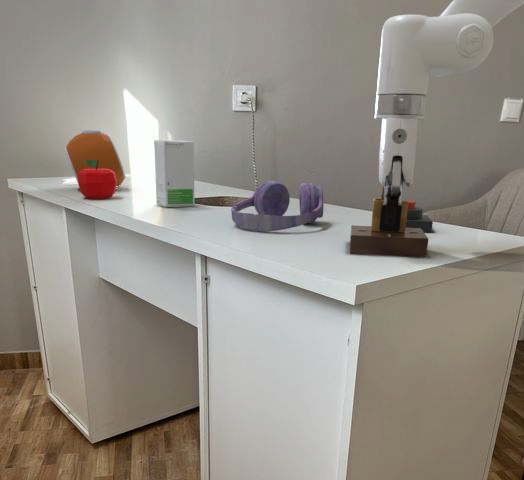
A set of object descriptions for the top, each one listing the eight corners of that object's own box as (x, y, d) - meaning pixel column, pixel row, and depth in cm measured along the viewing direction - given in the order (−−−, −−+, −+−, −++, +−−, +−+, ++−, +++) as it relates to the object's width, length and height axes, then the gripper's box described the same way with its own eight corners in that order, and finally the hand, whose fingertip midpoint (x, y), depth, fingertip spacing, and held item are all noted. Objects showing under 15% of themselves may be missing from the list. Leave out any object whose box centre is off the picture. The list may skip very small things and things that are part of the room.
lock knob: (404, 231, 93) (407, 198, 91) (405, 232, 91) (408, 199, 89) (370, 229, 93) (373, 197, 91) (371, 231, 92) (374, 198, 90)
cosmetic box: (165, 208, 137) (162, 140, 131) (155, 204, 142) (151, 139, 136) (196, 206, 141) (194, 140, 135) (185, 203, 146) (183, 140, 140)
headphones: (261, 211, 128) (216, 238, 113) (259, 175, 124) (212, 198, 108) (336, 218, 120) (299, 248, 105) (337, 180, 116) (298, 205, 101)
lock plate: (419, 245, 97) (421, 227, 96) (426, 257, 88) (428, 237, 87) (349, 242, 99) (351, 224, 98) (349, 253, 90) (351, 234, 88)
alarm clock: (129, 191, 169) (125, 130, 163) (68, 192, 164) (62, 129, 158) (123, 185, 186) (119, 130, 180) (68, 186, 181) (62, 129, 175)
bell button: (413, 209, 115) (414, 200, 114) (415, 211, 112) (416, 202, 111) (396, 208, 115) (396, 200, 115) (397, 210, 112) (398, 202, 111)
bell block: (425, 225, 118) (428, 206, 117) (431, 232, 110) (434, 212, 109) (378, 223, 120) (379, 204, 118) (380, 230, 111) (382, 210, 110)
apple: (113, 195, 160) (110, 158, 157) (123, 199, 152) (120, 160, 148) (75, 196, 156) (71, 158, 152) (83, 200, 147) (79, 160, 143)
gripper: (432, 107, 77) (416, 238, 84) (418, 111, 93) (406, 221, 99) (377, 106, 78) (366, 236, 85) (373, 110, 94) (363, 219, 100)
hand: (388, 227), depth 92 cm, fingers open, 5 cm apart
